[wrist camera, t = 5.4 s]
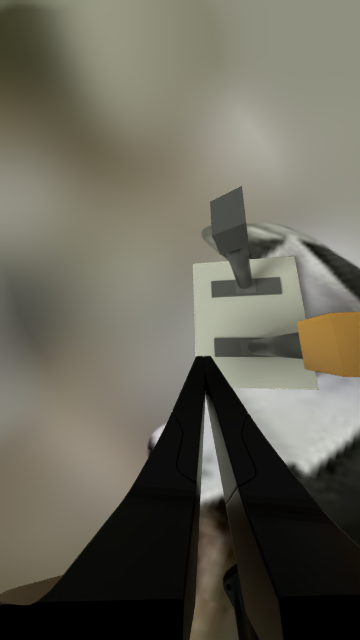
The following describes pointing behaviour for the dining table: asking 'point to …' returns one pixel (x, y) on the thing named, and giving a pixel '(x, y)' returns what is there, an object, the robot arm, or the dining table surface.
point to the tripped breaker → (319, 344)
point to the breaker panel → (246, 306)
